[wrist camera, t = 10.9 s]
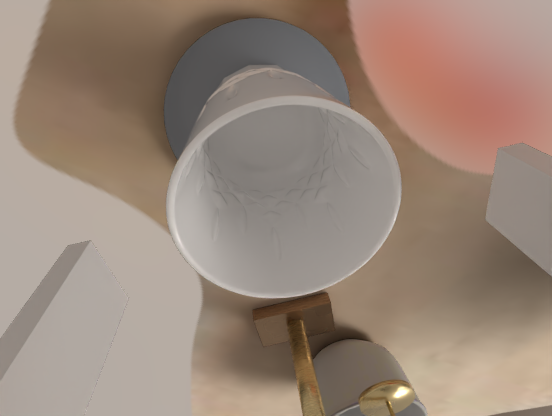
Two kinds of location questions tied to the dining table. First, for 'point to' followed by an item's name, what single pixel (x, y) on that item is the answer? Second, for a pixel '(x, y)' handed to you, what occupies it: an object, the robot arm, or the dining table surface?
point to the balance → (297, 328)
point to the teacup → (356, 376)
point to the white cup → (281, 187)
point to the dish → (236, 55)
